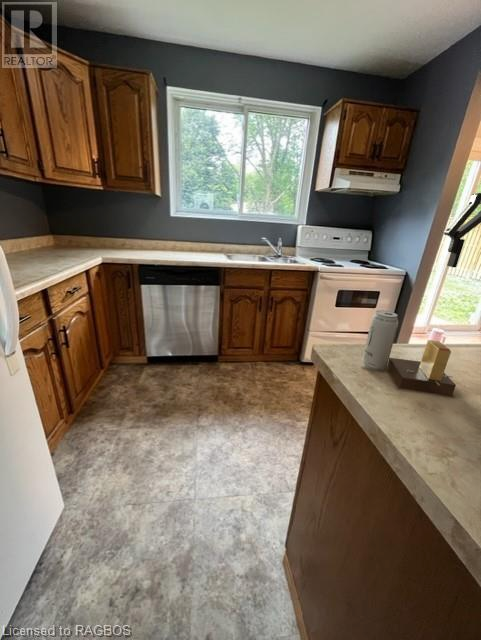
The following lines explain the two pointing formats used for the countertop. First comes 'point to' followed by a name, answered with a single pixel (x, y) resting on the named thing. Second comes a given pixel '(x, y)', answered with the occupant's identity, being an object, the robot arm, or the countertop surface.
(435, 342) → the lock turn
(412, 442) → the countertop surface
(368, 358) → the energy drink can
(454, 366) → the countertop surface
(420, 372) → the plate
